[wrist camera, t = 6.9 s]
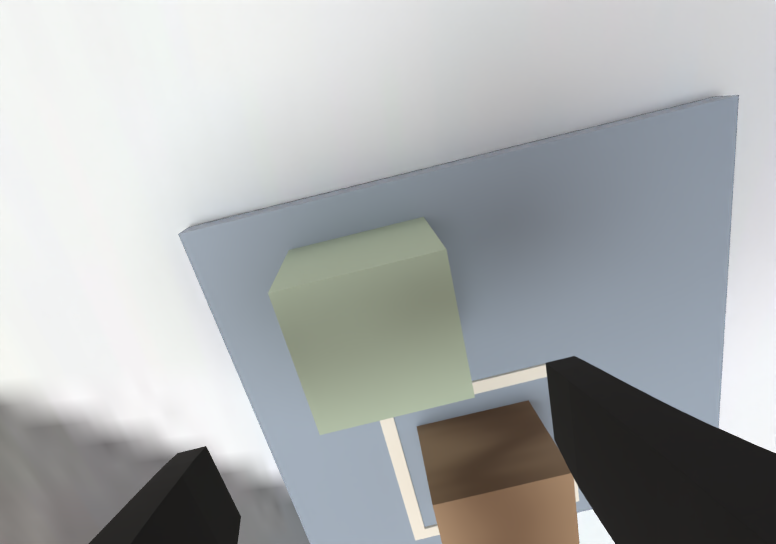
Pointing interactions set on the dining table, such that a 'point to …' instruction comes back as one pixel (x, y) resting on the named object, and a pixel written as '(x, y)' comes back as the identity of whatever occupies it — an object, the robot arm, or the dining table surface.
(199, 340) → the dining table surface
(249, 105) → the dining table surface
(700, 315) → the board
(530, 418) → the walnut block
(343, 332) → the sage block
